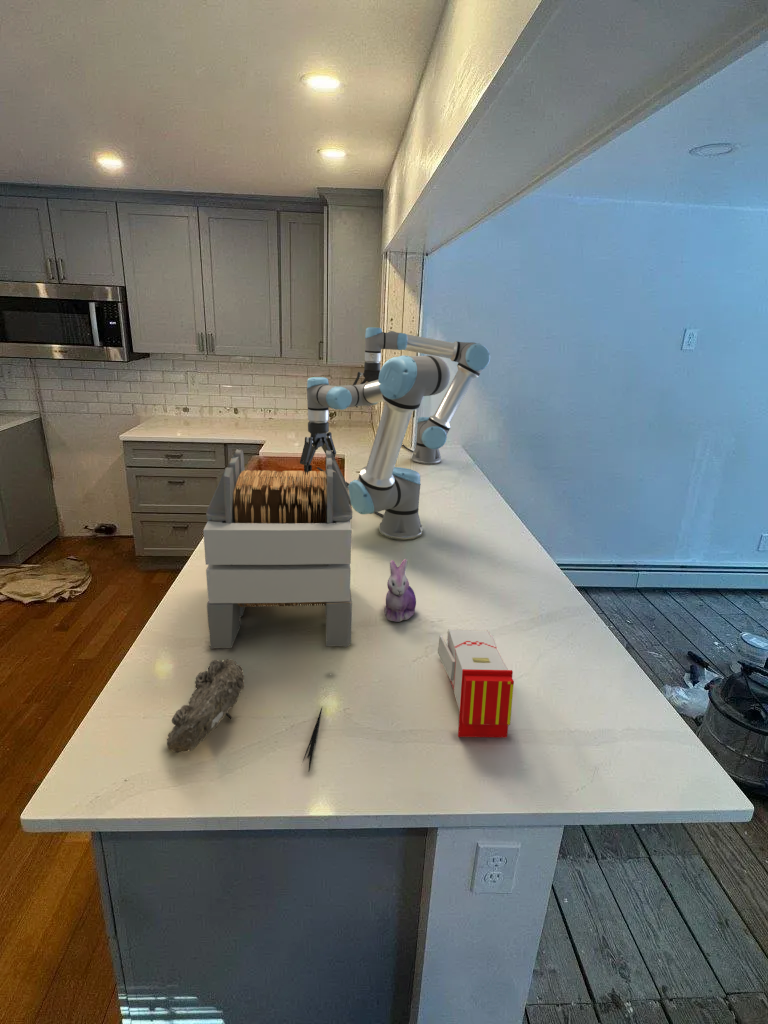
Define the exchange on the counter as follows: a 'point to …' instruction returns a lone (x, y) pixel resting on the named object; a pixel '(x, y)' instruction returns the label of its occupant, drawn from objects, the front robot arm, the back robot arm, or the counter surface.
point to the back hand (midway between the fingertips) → (370, 407)
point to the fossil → (206, 705)
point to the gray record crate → (278, 547)
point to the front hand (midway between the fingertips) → (318, 478)
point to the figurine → (399, 594)
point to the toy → (478, 682)
